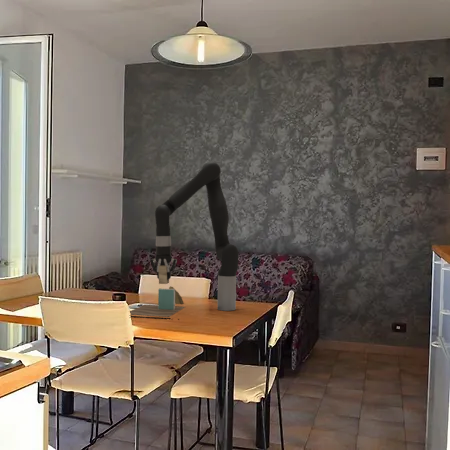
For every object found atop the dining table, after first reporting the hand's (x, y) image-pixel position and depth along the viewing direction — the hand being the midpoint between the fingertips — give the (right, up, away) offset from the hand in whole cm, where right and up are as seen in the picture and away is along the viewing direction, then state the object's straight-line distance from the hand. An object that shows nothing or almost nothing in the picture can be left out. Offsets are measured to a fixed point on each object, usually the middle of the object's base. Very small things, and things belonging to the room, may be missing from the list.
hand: (164, 279), depth 266 cm
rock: (+3, -15, +13) cm, 21 cm away
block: (0, -2, 0) cm, 2 cm away
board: (-3, -15, -8) cm, 18 cm away
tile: (+2, -14, -5) cm, 15 cm away
